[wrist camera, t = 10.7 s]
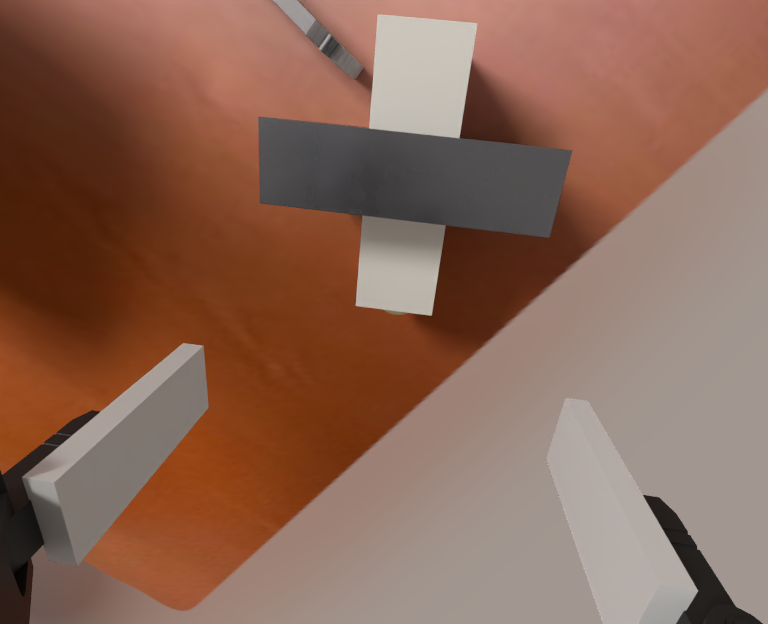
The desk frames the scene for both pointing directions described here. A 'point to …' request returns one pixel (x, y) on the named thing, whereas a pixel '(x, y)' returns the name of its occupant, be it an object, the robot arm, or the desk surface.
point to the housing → (411, 176)
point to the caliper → (321, 37)
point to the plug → (421, 116)
